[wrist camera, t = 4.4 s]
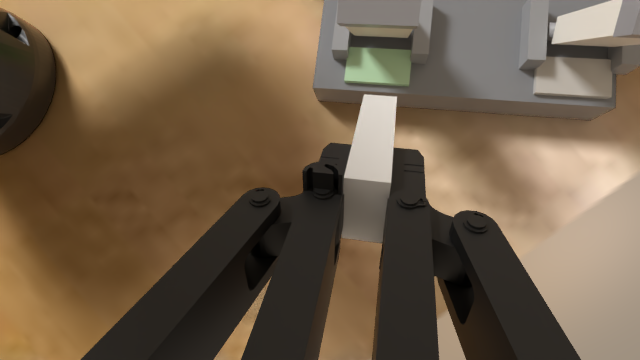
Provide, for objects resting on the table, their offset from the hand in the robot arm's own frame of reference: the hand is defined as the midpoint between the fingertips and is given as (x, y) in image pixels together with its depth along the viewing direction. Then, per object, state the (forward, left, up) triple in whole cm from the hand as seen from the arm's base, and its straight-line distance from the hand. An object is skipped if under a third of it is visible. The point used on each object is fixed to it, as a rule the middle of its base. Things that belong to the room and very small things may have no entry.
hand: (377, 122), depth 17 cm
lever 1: (-1, +11, -10) cm, 14 cm away
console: (+5, +13, -14) cm, 19 cm away
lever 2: (+13, +11, -10) cm, 20 cm away
